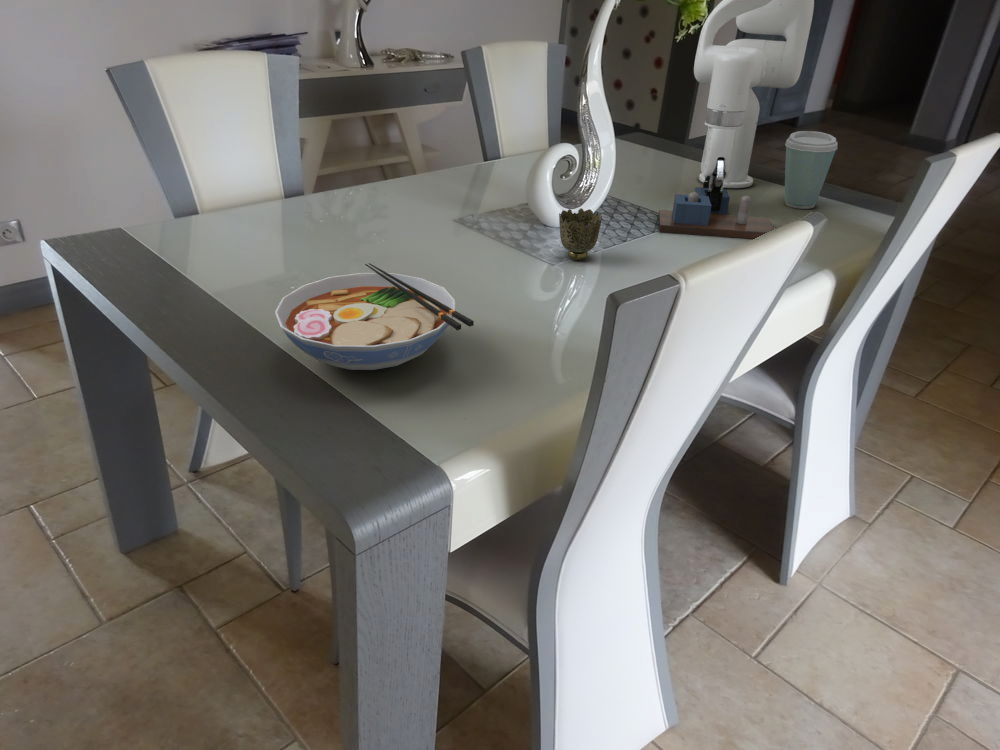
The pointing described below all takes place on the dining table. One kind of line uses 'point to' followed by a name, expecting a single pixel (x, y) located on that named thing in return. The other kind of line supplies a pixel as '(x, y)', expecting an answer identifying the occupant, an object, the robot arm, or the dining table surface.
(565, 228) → the cup
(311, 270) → the dining table surface
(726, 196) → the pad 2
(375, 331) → the ramen bowl
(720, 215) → the wooden peg board
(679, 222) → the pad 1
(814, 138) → the disposable coffee cup
